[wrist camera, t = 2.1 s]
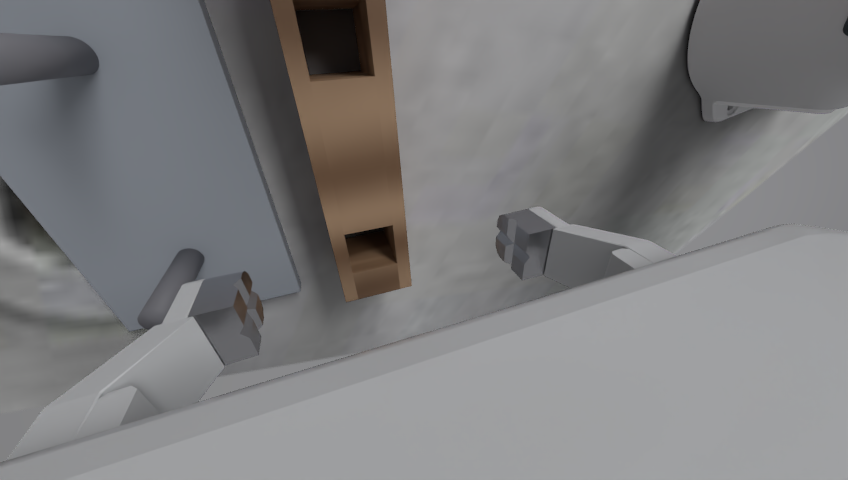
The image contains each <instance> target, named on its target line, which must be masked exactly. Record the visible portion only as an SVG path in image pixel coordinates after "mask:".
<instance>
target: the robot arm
mask: <svg viewBox="0 0 848 480" xmlns="http://www.w3.org/2000/svg"><path fill="white" fill-rule="evenodd" d="M688 71H689V75H690V79H691V81H692V84H693V86H694V87H695V89H696V90H697V91H698V93H699V94H700V96H701V99H702V115H703V119H704V120H705V121H708V122H720V121H723V120H725V119H728V118H730V117H733V116H735V115H738V114H740V113H743V112H745V111H748V110H750V109H753V108H760V109H771V110H781V111H792V112H803V113H814V114H827V113H831V112H833V111H834V110H835V109H839V108H844V107H847V106H848V0H700V2H699V5H698V7H697V10H696V13H695V17H694V20H693V24H692V28H691V32H690V38H689V44H688ZM497 227H498V229H499V230H500V232H499V234H498V235H497V237H496V249H497V253H498V255H499V256H500V258H501V259H502V260H503V261H504V262H506V263H509V264H511V269H512V270H513V271H514V272H515V273H516V274H517V275H518V276H519V277H520V279H521V280H525V279H529V278H533V277H537V276H541V275H544V276H545V277H548V278H550V279H552V280H554V281H556V282H559V283H561V284H563V285H565V286H567V287H569V288H571V289H567V290H564V291H561V292H557V293H554V294H551V295H548V296H544V297H541V298H538V299H535V300H531V301H528V302H525V303H521V304H518V305H515V306H512V307H508V308H505V309H502V310H498V311H495V312H492V313H489V314H485V315H482V316H479V317H476V318H472V319H469V320H466V321H462V322H459V323H456V324H453V325H449V326H446V327H443V328H440V329H436V330H433V331H430V332H426V333H423V334H420V335H417V336H413V337H410V338H407V339H403V340H400V341H397V342H394V343H390V344H387V345H384V346H381V347H377V348H374V349H371V350H367V351H364V352H361V353H358V354H354V355H351V356H348V357H345V358H341V359H338V360H335V361H331V362H328V363H325V364H322V365H318V366H315V367H312V368H309V369H305V370H302V371H298V372H295V373H292V374H289V375H285V376H282V377H279V378H276V379H273V380H269V381H266V382H262V383H259V384H256V385H253V386H250V387H246V388H243V389H240V390H236V391H233V392H230V393H226V394H223V395H220V396H216V397H213V398H210V399H207V400H203V401H201V402H199V400H200V399H201V398H202V396H203V395H204V394H205V392H206V391H207V390H208V388H209V387H210V386H211V384H212V383H213V382H214V381H215V379H216V378H217V377H218V375H219V374H220V373H221V371H222V370H223V369H224V367H225V366H224V365H227V364H231V363H234V362H237V361H240V360H244V359H247V358H250V357H253V356H257V355H259V349H260V342H261V335H260V333H259V331H258V330H259V329H260V328H261V326H262V325H263V320H264V315H263V307H262V303H261V300H260V298H259V296H258V294H257V293H255V292H253V291H251V288H252V283H253V282H252V280H251V278H250V276H249V274H248V273H247V272H246V271H242V272H237V273H232V274H227V275H222V276H217V277H212V278H207V279H201V280H197V281H192V282H188V283H185V284H183V285H182V286H181V288H180V290H179V291H178V293H177V295H176V297H175V299H174V301H173V303H172V305H171V307H170V309H169V311H168V313H167V315H166V317H165V319H164V320H163V322H162V324H160V325H156V326H154V327H152V328H151V329H150V330H148V331H147V332H146V333H144V334H143V335H142V336H140V337H139V338H138V339H136V340H135V341H134V342H132V343H131V344H130V345H128V346H127V347H126V348H124V349H123V350H121V351H120V352H119V353H117V354H116V355H115V356H113V357H112V358H111V359H109V360H108V361H107V362H105V363H104V364H103V365H101V366H100V367H99V368H97V369H96V370H95V371H93V372H92V373H91V374H89V375H88V376H87V377H85V378H84V379H83V380H81V381H80V382H79V383H77V384H76V385H75V386H73V387H72V388H71V389H69V390H68V391H67V392H65V393H64V394H62V395H61V396H60V397H58V398H57V399H56V400H54V401H53V402H52V403H50V404H49V405H48V406H46V407H45V408H44V409H43V410H42V412H41V413H40V414H39V416H38V417H37V419H36V420H35V421H34V423H33V424H32V426H31V427H30V428H29V430H28V431H27V432H26V434H25V435H24V436H23V438H22V439H21V440H20V442H19V443H18V445H17V446H16V447H15V449H14V450H13V451H12V453H11V454H10V456H9V457H8V458H7V460H6V461H3V462H0V480H848V232H844V231H839V230H833V229H826V228H820V227H812V226H806V225H797V224H782V225H777V226H774V227H770V228H767V229H764V230H761V231H757V232H754V233H750V234H747V235H744V236H741V237H738V238H734V239H731V240H728V241H724V242H721V243H718V244H715V245H712V246H708V247H705V248H702V249H698V250H695V251H692V252H689V253H685V254H682V255H679V256H677V255H675V254H673V253H671V252H670V251H668V250H666V249H664V248H662V247H660V246H658V245H657V244H655V243H653V242H651V241H649V240H645V239H641V238H636V237H631V236H627V235H622V234H618V233H613V232H608V231H604V230H599V229H594V228H590V227H585V226H580V225H576V224H572V225H569V224H568V223H566V222H565V221H563V220H561V219H560V218H558V217H557V216H555V215H553V214H552V213H550V212H549V211H547V210H546V209H544V208H542V207H539V206H536V207H532V208H528V209H525V210H521V211H516V212H512V213H508V214H504V215H501V216H499V218H498V222H497Z"/></svg>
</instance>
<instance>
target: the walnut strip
mask: <svg viewBox="0 0 848 480" xmlns="http://www.w3.org/2000/svg"><path fill="white" fill-rule="evenodd" d="M270 2H271V6H272V10H273V14H274V18H275V22H276V26H277V30H278V34H279V38H280V42H281V46H282V50H283V54H284V58H285V62H286V66H287V70H288V74H289V78H290V82H291V86H292V90H293V94H294V98H295V101H296V105H297V109H298V113H299V117H300V121H301V125H302V129H303V133H304V137H305V141H306V145H307V149H308V153H309V157H310V161H311V165H312V169H313V173H314V177H315V181H316V185H317V189H318V193H319V197H320V201H321V205H322V209H323V213H324V216H325V220H326V224H327V228H328V232H329V236H330V240H331V244H332V248H333V252H334V256H335V260H336V264H337V268H338V272H339V276H340V280H341V284H342V288H343V292H344V296H345V300H346V302H349V301H353V300H357V299H361V298H365V297H369V296H373V295H377V294H381V293H385V292H389V291H393V290H397V289H401V288H405V287H409V286H412V285H411V274H410V263H409V253H408V242H407V231H406V220H405V209H404V198H403V188H402V177H401V166H400V155H399V144H398V133H397V123H396V112H395V101H394V90H393V79H392V68H391V58H390V47H389V36H388V25H387V14H386V3H385V0H270ZM335 9H352V10H353V17H354V25H355V32H356V39H357V46H358V53H359V60H360V68H361V71H352V72H339V73H326V74H313V75H309V71H308V66H307V62H306V57H305V53H304V48H303V44H302V39H301V34H300V30H299V25H298V21H297V16H296V12H295V11H301V10H335ZM381 227H383V231H379V232H374V233H369V234H364V235H359V236H354V237H349V238H345V235H346V234H351V233H356V232H361V231H366V230H371V229H376V228H381Z"/></svg>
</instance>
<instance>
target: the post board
mask: <svg viewBox="0 0 848 480" xmlns="http://www.w3.org/2000/svg"><path fill="white" fill-rule="evenodd" d="M0 176H1V177H2V178H3V179H4V181H5V182H6V183H7V184H8V185H9V187H10V188H11V189H12V190H13V192H14V193H15V194H16V195H17V196H18V198H19V199H20V200H21V201H22V202H23V204H24V205H25V206H26V207H27V208H28V210H29V211H30V212H31V213H32V214H33V216H34V217H35V218H36V219H37V221H38V222H39V223H40V224H41V225H42V227H43V228H44V229H45V230H46V231H47V233H48V234H49V235H50V236H51V237H52V239H53V240H54V241H55V242H56V243H57V245H58V246H59V247H60V248H61V250H62V251H63V252H64V253H65V254H66V256H67V257H68V258H69V259H70V260H71V262H72V263H73V264H74V265H75V266H76V268H77V269H78V270H79V271H80V272H81V274H82V275H83V276H84V277H85V279H86V280H87V281H88V282H89V283H90V285H91V286H92V287H93V288H94V289H95V291H96V292H97V293H98V294H99V295H100V297H101V298H102V299H103V300H104V301H105V303H106V304H107V305H108V306H109V308H110V309H111V310H112V311H113V312H114V314H115V315H116V316H117V317H118V318H119V320H120V321H121V322H122V323H123V324H124V326H125V327H126V328H127V329H128V330H129V332H130V331H134V330H138V329H142V328H145V329H148V330H150V329H151V328H152V327H154V326H156V325H160V324H162V322H163V320H164V319H165V317H166V315H167V313H168V311H169V309H170V307H171V305H172V303H173V301H174V299H175V297H176V295H177V293H178V291H179V290H180V288H181V286H182V285H183V284H185V283H188V282H192V281H197V280H201V279H207V278H212V277H217V276H222V275H227V274H232V273H237V272H242V271H246V272H247V273H248V274H249V276H250V278H251V280H252V282H253V283H252V288H251V291H253V292H255V293H257V294H258V296H259V298H260V300H261V301H262V300H266V299H270V298H274V297H279V296H283V295H287V294H291V293H296V292H300V291H301V282H300V279H299V276H298V273H297V270H296V267H295V264H294V261H293V258H292V255H291V252H290V250H289V247H288V244H287V241H286V238H285V235H284V232H283V229H282V226H281V223H280V220H279V218H278V215H277V212H276V209H275V206H274V203H273V200H272V197H271V194H270V191H269V189H268V186H267V183H266V180H265V177H264V174H263V171H262V168H261V165H260V162H259V159H258V157H257V154H256V151H255V148H254V145H253V142H252V139H251V136H250V133H249V130H248V127H247V125H246V122H245V119H244V116H243V113H242V110H241V107H240V104H239V101H238V98H237V96H236V93H235V90H234V87H233V84H232V81H231V78H230V75H229V72H228V69H227V66H226V64H225V61H224V58H223V55H222V52H221V49H220V46H219V43H218V40H217V37H216V34H215V32H214V29H213V26H212V23H211V20H210V17H209V14H208V11H207V8H206V5H205V2H204V0H0Z"/></svg>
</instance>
